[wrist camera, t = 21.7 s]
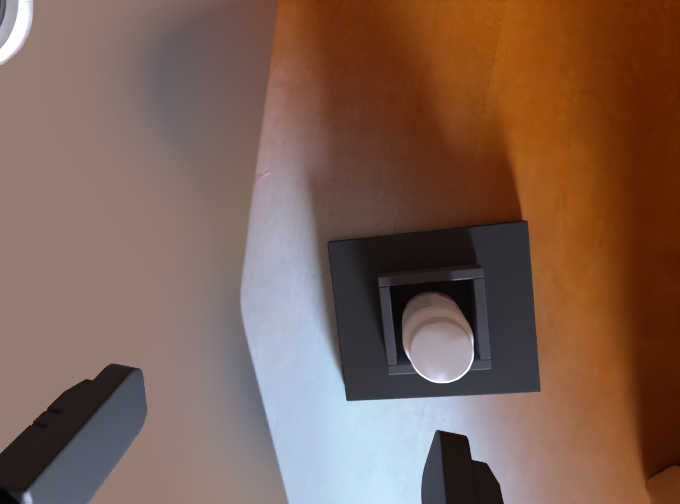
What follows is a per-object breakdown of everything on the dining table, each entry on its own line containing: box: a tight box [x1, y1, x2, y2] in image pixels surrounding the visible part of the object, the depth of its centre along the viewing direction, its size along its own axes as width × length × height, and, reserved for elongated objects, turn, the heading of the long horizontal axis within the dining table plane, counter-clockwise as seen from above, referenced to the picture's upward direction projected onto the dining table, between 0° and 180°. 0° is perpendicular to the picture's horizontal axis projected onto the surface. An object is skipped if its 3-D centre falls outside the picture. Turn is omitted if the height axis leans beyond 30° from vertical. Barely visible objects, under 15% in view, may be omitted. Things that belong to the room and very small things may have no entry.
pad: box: [328, 220, 540, 401], centre depth 33 cm, size 16×14×3 cm
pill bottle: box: [402, 291, 474, 383], centre depth 30 cm, size 5×5×8 cm
